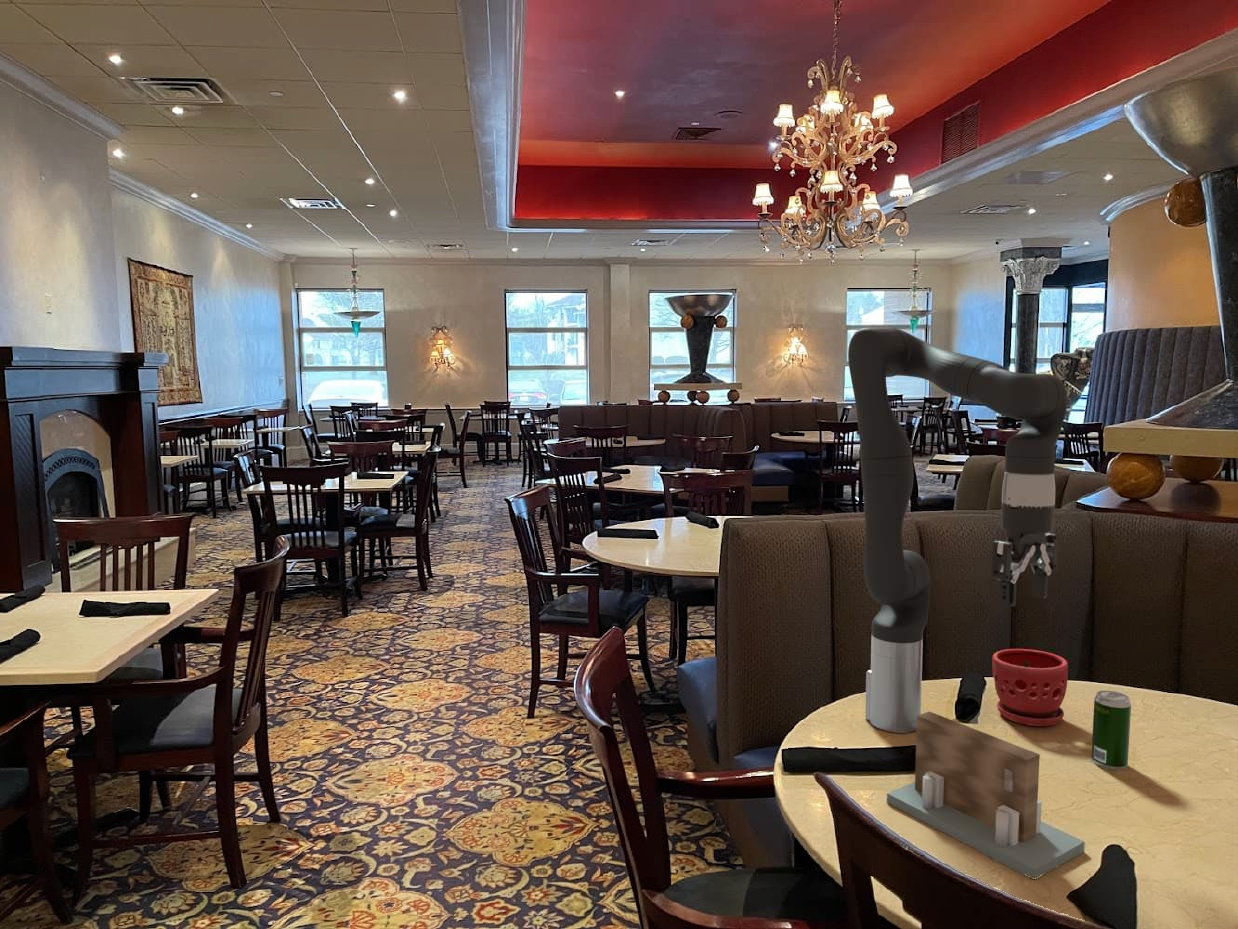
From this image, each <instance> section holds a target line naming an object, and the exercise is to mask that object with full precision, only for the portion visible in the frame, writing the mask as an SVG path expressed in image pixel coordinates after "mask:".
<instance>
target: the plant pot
mask: <svg viewBox="0 0 1238 929" xmlns="http://www.w3.org/2000/svg"><path fill="white" fill-rule="evenodd" d="M1024 663H1027V664H1028V665H1029V666H1027V667H1026V666H1024V665H1023V664H1024ZM991 665H992V668H991V669H992V677H993V679H994V680H993V681H994V689H995V691H996V692H995V693H996V695H997V696H998V699H999V701H998V702H996V708H997V711H998V712H999V713H1000V714H1001V715H1002V716H1003V717H1005V718H1006V719H1008V720H1010V721H1012V722H1013V721H1014V722H1013V723H1018V724H1022V725H1026V726H1032V727H1033V726H1034V727H1046V726H1053V725H1055V724H1058V723H1059V722H1060V721H1062V719H1063V718H1064V716H1065V712H1064V710H1063V708H1062V707H1061V705H1062V703H1063V702H1064V699H1065V696H1066V694H1067V688H1068V677H1069V675H1068V674H1069V664H1068V661H1067V660H1066V659H1065V658H1063V657H1062V656H1061V655H1056V653H1055V654H1054V653H1051V652H1046V651H1041V650H1035V649H1025V648H1010V649H1009V648H1008V649H1007V648H1006V649H1003V650H999V651H996V652H995V653H993V655H992V664H991Z"/></svg>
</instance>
